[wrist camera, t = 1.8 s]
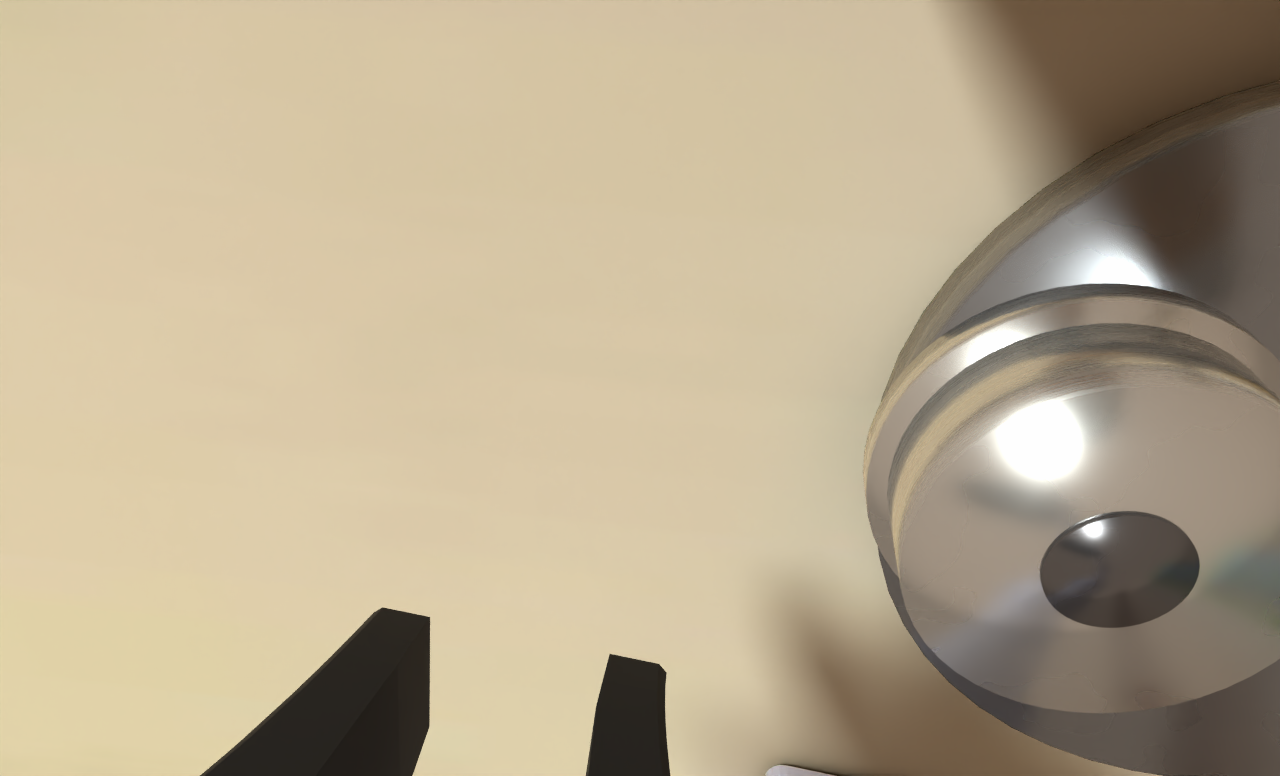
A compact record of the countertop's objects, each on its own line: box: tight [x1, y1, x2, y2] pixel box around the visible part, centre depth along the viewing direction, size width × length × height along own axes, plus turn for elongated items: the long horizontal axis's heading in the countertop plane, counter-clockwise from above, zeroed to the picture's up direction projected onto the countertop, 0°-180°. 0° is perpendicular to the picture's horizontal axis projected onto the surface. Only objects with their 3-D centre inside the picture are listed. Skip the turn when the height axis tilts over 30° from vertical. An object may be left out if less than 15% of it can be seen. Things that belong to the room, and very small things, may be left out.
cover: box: [863, 283, 1280, 713], centre depth 16 cm, size 8×8×3 cm
